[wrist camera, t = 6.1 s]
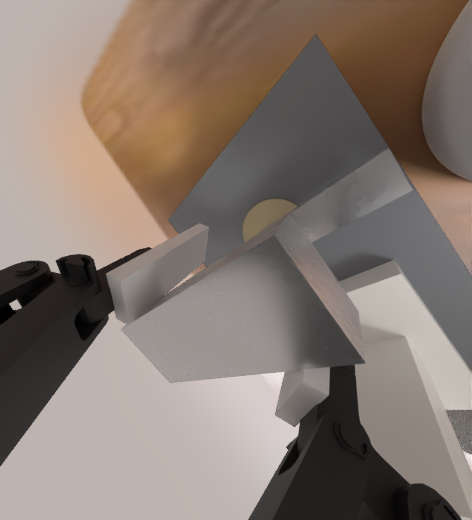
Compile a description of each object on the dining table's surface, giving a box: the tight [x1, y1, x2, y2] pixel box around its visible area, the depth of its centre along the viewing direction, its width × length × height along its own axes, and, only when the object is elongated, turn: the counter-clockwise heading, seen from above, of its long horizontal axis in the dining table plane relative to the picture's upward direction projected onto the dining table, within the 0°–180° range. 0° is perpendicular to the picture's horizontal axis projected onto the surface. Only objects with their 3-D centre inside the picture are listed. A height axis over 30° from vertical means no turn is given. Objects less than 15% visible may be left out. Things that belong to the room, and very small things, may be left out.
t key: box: [121, 148, 413, 383], centre depth 11 cm, size 14×4×12 cm, turn 130°
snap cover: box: [339, 260, 472, 520], centre depth 14 cm, size 13×12×11 cm
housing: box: [168, 34, 472, 371], centre depth 20 cm, size 28×18×5 cm, turn 43°
